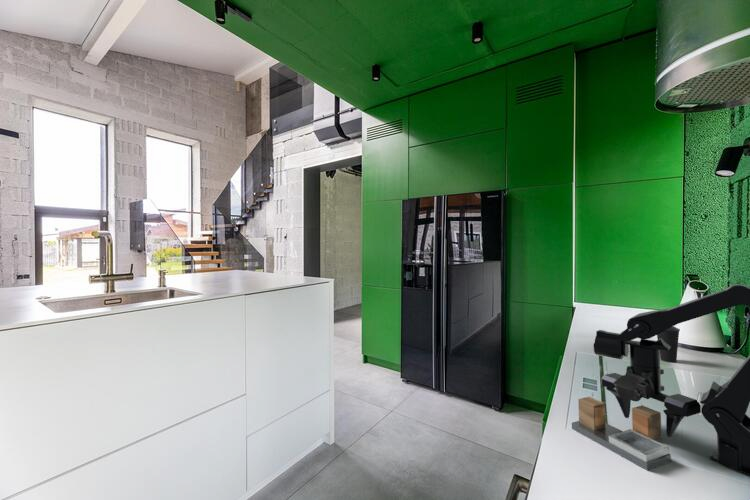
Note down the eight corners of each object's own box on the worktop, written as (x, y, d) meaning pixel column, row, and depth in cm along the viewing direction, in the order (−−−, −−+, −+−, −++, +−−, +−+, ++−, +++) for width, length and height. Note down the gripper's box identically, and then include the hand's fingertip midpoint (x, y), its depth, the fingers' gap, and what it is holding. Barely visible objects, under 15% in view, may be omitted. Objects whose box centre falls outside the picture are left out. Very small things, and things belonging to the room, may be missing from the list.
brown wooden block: (589, 419, 83) (589, 396, 83) (606, 427, 79) (605, 403, 79) (579, 422, 81) (578, 399, 82) (595, 430, 77) (594, 406, 78)
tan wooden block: (642, 428, 81) (642, 405, 81) (661, 436, 77) (660, 412, 77) (631, 431, 79) (631, 408, 79) (650, 440, 76) (649, 415, 76)
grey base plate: (593, 422, 84) (593, 411, 84) (671, 461, 68) (670, 447, 68) (571, 428, 81) (571, 416, 81) (647, 470, 65) (646, 456, 65)
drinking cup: (651, 358, 133) (650, 311, 133) (663, 356, 135) (662, 310, 136) (673, 364, 126) (671, 315, 126) (685, 362, 128) (684, 313, 128)
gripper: (586, 356, 85) (587, 414, 84) (670, 382, 67) (672, 456, 67) (614, 352, 88) (615, 407, 88) (700, 375, 71) (703, 444, 70)
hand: (646, 426), depth 78 cm, fingers open, 9 cm apart
